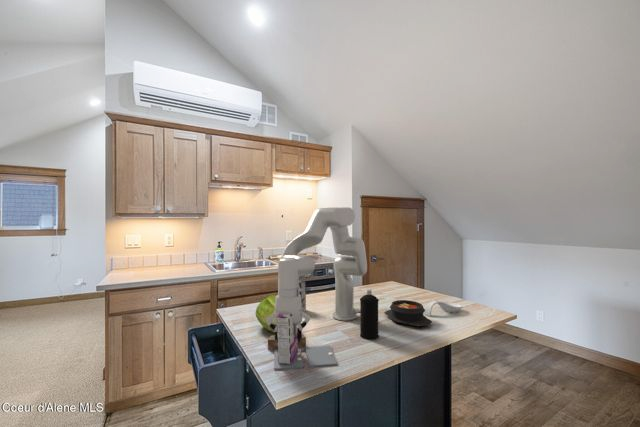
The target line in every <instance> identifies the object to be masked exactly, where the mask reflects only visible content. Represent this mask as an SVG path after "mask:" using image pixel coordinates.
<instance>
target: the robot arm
mask: <svg viewBox="0 0 640 427" xmlns="http://www.w3.org/2000/svg"><path fill="white" fill-rule="evenodd" d="M355 218H356V214H355V211H354V209H353V208H352V207H348V206H347V207H346V206H345V207H320V208H317V209H316V210H314V212H313V213H312V216H311V217H310V219H309V222H308V224H307V225H306V228H305V230H304V231H303V233H301V234H299V235H297V236H296V237H295V238H294V239H293V240H291V241H290V242H289V243H288V244H287V245H286V246H285V248H284V250H283V252H282V254H281V256H280V259H279V260H278V263H277V265H278V266H277V270H278V271H277V272H278V273H277V278H278V279H277V280H278V281H277V294H276V295H275V296H276V299H275V310H274V313H273V314H272V315H271V316H270V317H269V318H267V319H266V322H267V324H268V325H269V326H270V327H271V328H272V329H273V330H274V332H275V333H274V332H273V333H274V336H275V340H277V343H278V338H277V316H278V315H284V314H292V319H293V324H297V339H298V342H300V338H302V334H303V332H302V331H303V329H304V328H305V327H306V326H307V324H308V323H309V322H310V320H311V317H310V316H309V315H308V314H307V313H305V311H304V312H303V311H302V302H301V295H300V294H299V293H300V292H303V289H302V288H299V281H300V279H299V277H302V276H310V275H311V274H313V272H314V271H315V268H316V262H315V259H314V258H312V257H311V256H310V255H302V254H300V253H301V252H302V251H304V250H306V249H310V248H312V247H314V246H317V245H319V244H321V243H322V242H323V239H324V237H325V235H326V232H327V231H328V228H329V230H330V231H331V237H332V243H333V245H332V246H333V249H334V252H335V254H337V255H338V256H336V257H335V259H334V260H333V272H334V277H335V278H334V279H335V280H334V281H335V282H334V283H335V284H334V285H335V286H334V288H335V289H334V290H335V292H334V293H335V298H334V299H335V304H334V305H335V309H334V310H335V311H333V313H332V318H333V319H335V320H337V321H343V322H344V321H345V322H347V321H349V322H350V321H353V320H355V319H357V318H358V317H357V316H358V315H357V314H360V308H355V307H354V306H355V303H354V301H355V300H354V299H355V298H354V297H355V296H354V295H355V294H354V292H355V291H354V288H355V286H354V280H353V278H352V277H351V276H355V277H363V276H365V275H366V274H367V271H368V263H367V262H368V261H367V254H366V253H367V252H366V245H365V242H364V240H363V239H362V238H361V237H358V236H357V237H356V236H350V234H349V228H348V226H349V227H350V226H351V225H353V223H354V222H355ZM303 318H304V320H303ZM272 319H274V320H275V324H276V325H274V324H273V323H272V322H271V320H272Z"/></svg>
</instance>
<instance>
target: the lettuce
mask: <svg viewBox="0 0 640 427" xmlns="http://www.w3.org/2000/svg"><path fill="white" fill-rule="evenodd" d="M275 299H276V295H275V294H274V295H273V294H271V295H268V296H267V297H266V298H265V297H264V299H262V300H261V301H260V302H259V304H258V306H257V307H256V309H255V314H254V315H255V317H256V319H257V321H258V322H259V324H260V325H261V326H262V328H265V329H266V330H268V331H270V332H272V333H273V334H275V332H274V330H273V329H272V328H271V327H270V326H269V325H268V324H267V322H266V319H267V318H269V317H270V316H271V315H272V314H273V313H274V310H275ZM271 322H272V323H273V324H274V325H276V324H275V320H274V319H272V320H271Z"/></svg>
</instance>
